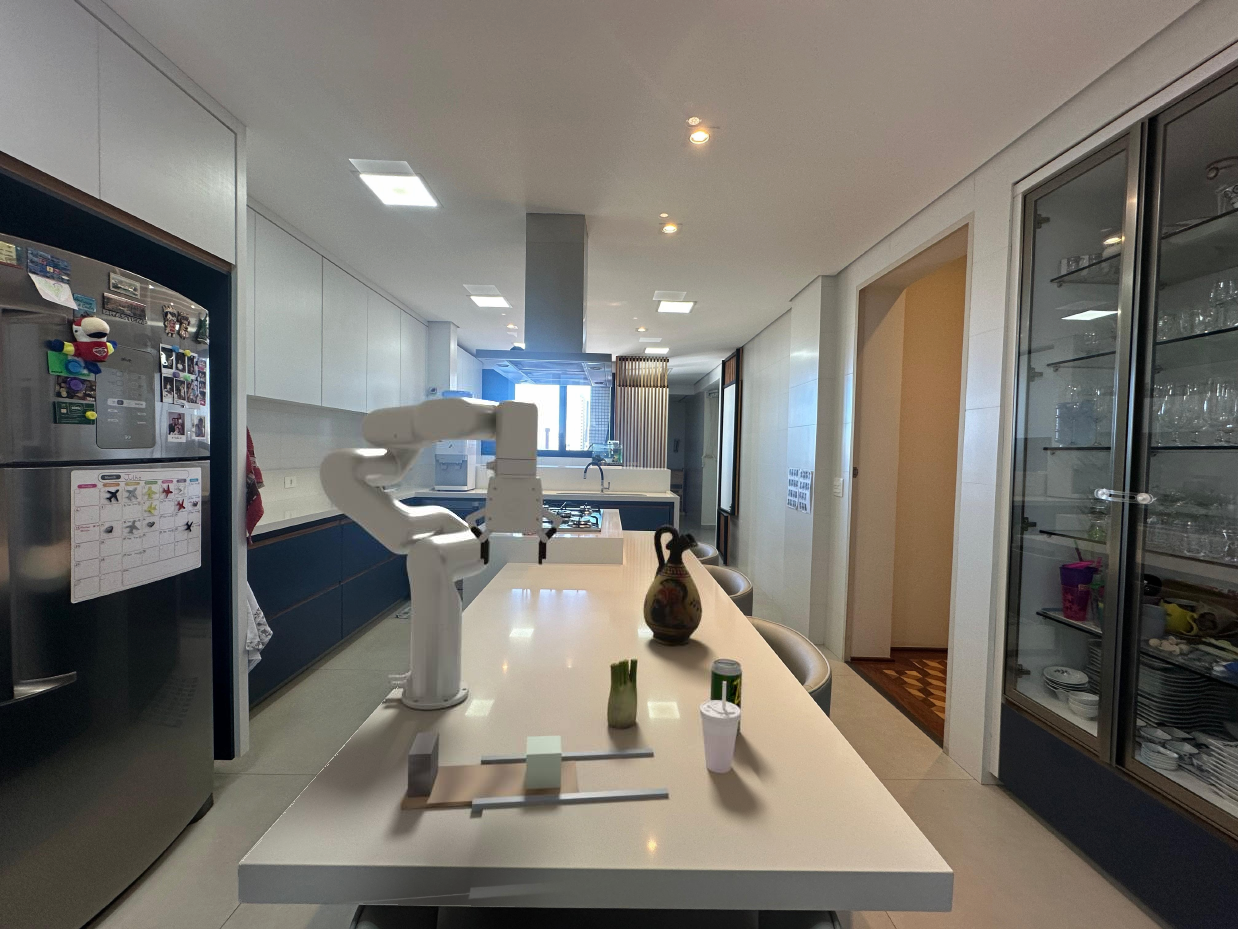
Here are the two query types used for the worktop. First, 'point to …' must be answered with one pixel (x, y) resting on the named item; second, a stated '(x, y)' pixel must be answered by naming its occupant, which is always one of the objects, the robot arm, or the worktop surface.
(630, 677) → the fennel bulb
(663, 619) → the ceramic jug
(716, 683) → the beer can
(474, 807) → the lane rails
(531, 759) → the block
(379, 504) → the robot arm
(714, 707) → the smoothie
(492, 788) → the strip
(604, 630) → the worktop surface
